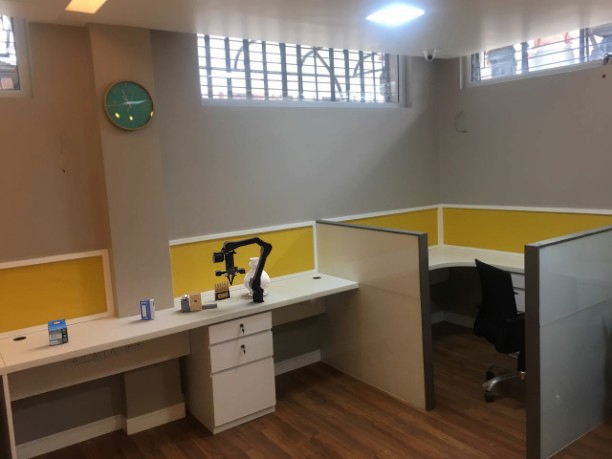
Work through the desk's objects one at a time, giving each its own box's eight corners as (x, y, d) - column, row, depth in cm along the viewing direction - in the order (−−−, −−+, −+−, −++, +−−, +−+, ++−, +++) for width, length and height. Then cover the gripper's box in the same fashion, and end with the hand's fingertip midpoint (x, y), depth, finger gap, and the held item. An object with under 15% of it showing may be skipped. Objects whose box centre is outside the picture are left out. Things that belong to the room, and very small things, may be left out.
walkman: (141, 320, 318) (139, 300, 316) (142, 318, 321) (141, 299, 319) (154, 319, 318) (152, 299, 317) (155, 318, 321) (154, 298, 319)
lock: (201, 306, 340) (200, 291, 338) (202, 310, 332) (200, 294, 330) (190, 308, 338) (189, 292, 337) (190, 311, 330) (189, 295, 329)
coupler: (216, 305, 341) (215, 290, 340) (217, 308, 335) (216, 292, 333) (181, 309, 337) (180, 293, 335) (181, 312, 330) (180, 296, 329)
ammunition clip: (215, 300, 354) (214, 283, 352) (214, 300, 355) (213, 282, 354) (230, 297, 360) (229, 280, 358) (229, 297, 361) (227, 279, 360)
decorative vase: (265, 297, 355) (263, 260, 351) (240, 297, 359) (238, 260, 356) (274, 291, 372) (271, 255, 368) (250, 290, 376) (247, 255, 373)
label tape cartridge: (50, 346, 279) (47, 323, 277) (49, 344, 282) (46, 321, 281) (68, 342, 284) (66, 320, 282) (67, 340, 287) (65, 318, 285)
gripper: (215, 265, 326) (217, 289, 329) (245, 262, 331) (247, 286, 333) (214, 261, 337) (216, 285, 339) (243, 259, 341) (245, 283, 343)
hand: (231, 285), depth 338 cm, fingers closed
